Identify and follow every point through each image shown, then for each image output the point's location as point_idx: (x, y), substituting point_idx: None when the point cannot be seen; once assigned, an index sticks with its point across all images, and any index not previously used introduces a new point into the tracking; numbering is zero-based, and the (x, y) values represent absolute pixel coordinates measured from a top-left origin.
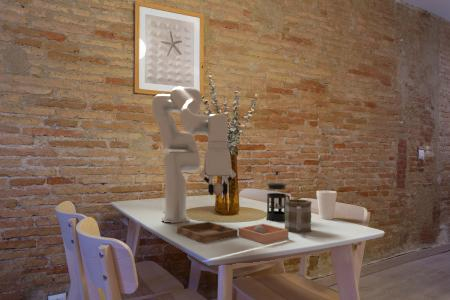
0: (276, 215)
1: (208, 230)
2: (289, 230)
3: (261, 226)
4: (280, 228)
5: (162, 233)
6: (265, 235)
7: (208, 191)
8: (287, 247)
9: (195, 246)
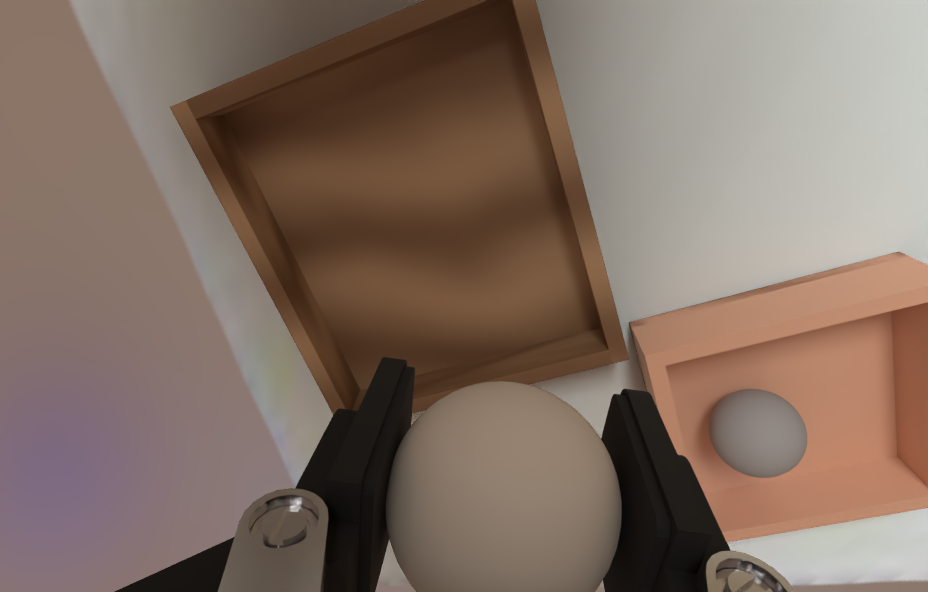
0: None
1: (475, 97)
2: None
3: (779, 472)
4: None
5: (89, 19)
6: None
7: (338, 418)
8: (764, 561)
9: (307, 408)
